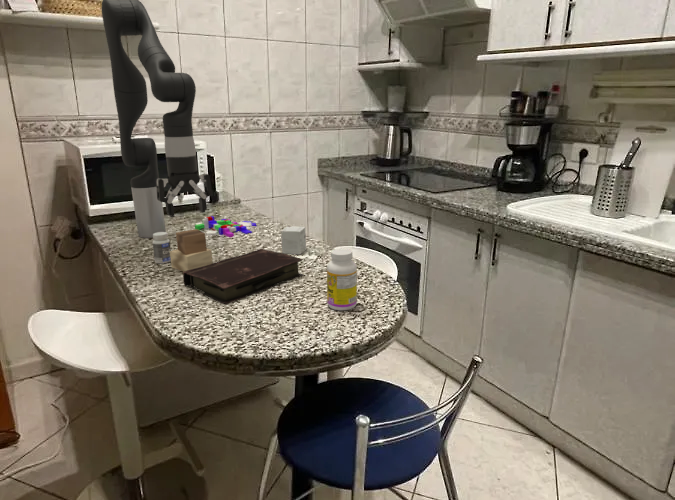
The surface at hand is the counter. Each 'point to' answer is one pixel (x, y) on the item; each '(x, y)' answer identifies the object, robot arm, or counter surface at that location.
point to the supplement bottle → (341, 280)
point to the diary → (242, 275)
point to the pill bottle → (161, 247)
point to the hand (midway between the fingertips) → (187, 214)
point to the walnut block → (191, 241)
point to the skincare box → (293, 240)
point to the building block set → (224, 226)
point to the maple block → (190, 260)
